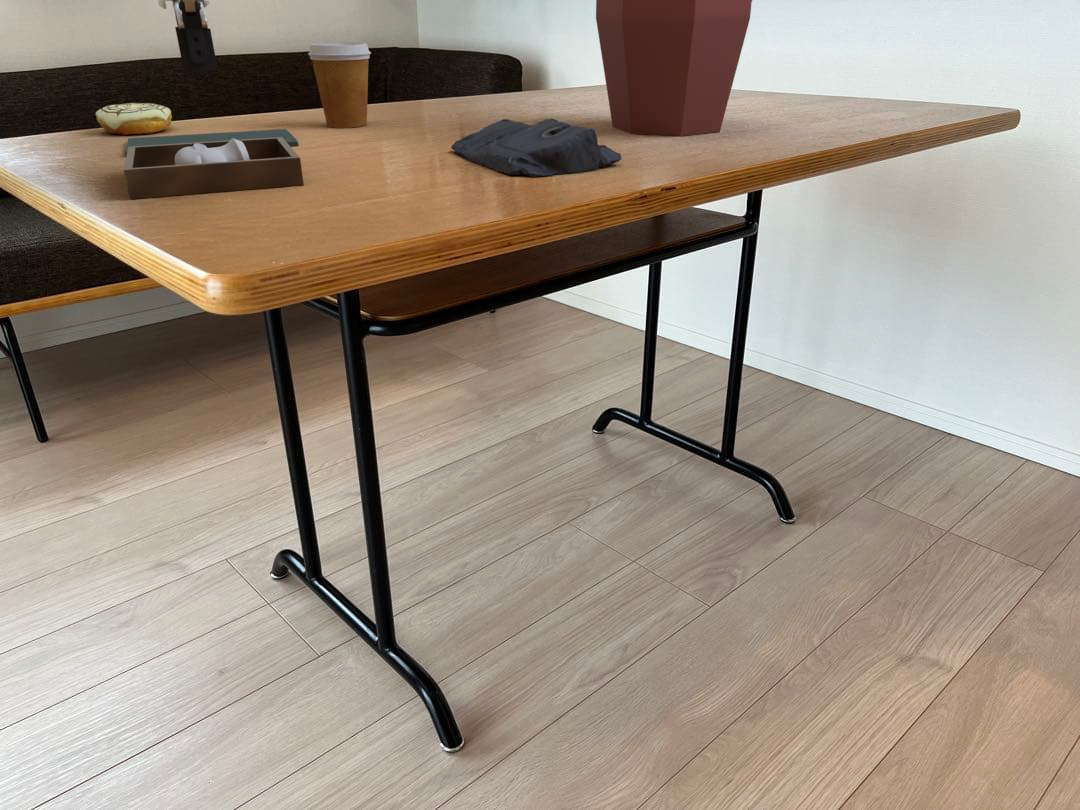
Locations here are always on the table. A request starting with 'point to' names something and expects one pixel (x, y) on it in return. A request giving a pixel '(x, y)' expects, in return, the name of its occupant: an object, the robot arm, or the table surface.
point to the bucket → (670, 62)
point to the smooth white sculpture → (212, 153)
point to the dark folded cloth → (536, 148)
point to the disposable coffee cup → (342, 81)
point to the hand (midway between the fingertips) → (199, 68)
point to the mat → (212, 138)
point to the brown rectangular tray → (210, 169)
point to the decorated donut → (134, 118)
